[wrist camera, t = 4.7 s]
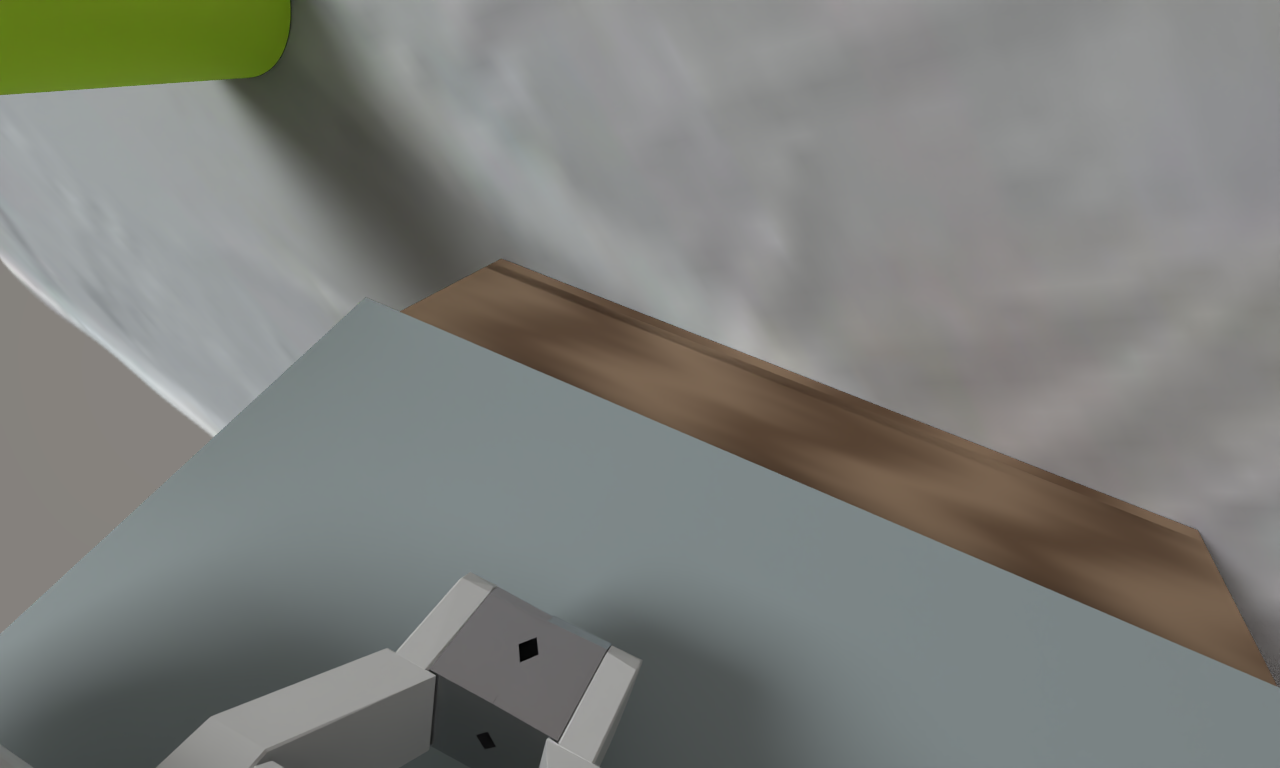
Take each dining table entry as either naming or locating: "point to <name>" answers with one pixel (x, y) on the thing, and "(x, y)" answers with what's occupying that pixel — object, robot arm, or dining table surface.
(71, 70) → the soap dispenser
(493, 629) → the robot arm
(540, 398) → the lid
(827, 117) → the dining table surface
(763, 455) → the wooden box
